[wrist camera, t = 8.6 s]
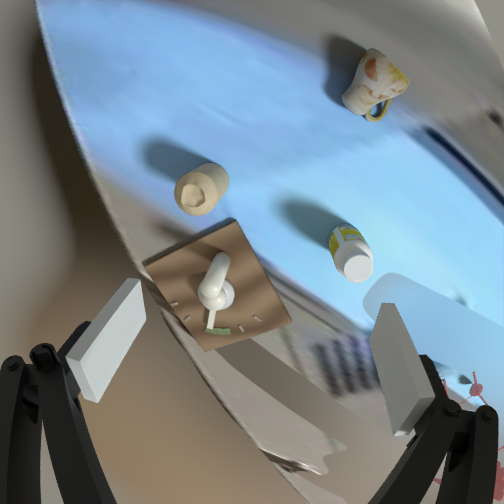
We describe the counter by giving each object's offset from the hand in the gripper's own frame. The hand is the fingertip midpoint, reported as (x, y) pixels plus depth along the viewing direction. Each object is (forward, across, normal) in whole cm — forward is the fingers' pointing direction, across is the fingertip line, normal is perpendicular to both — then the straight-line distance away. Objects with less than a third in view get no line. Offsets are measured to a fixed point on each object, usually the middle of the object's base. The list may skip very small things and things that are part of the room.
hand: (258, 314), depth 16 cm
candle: (+31, -9, 0) cm, 32 cm away
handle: (+29, -8, -18) cm, 35 cm away
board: (+30, -8, -19) cm, 37 cm away
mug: (+31, +12, +16) cm, 37 cm away
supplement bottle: (+31, +11, -7) cm, 33 cm away
